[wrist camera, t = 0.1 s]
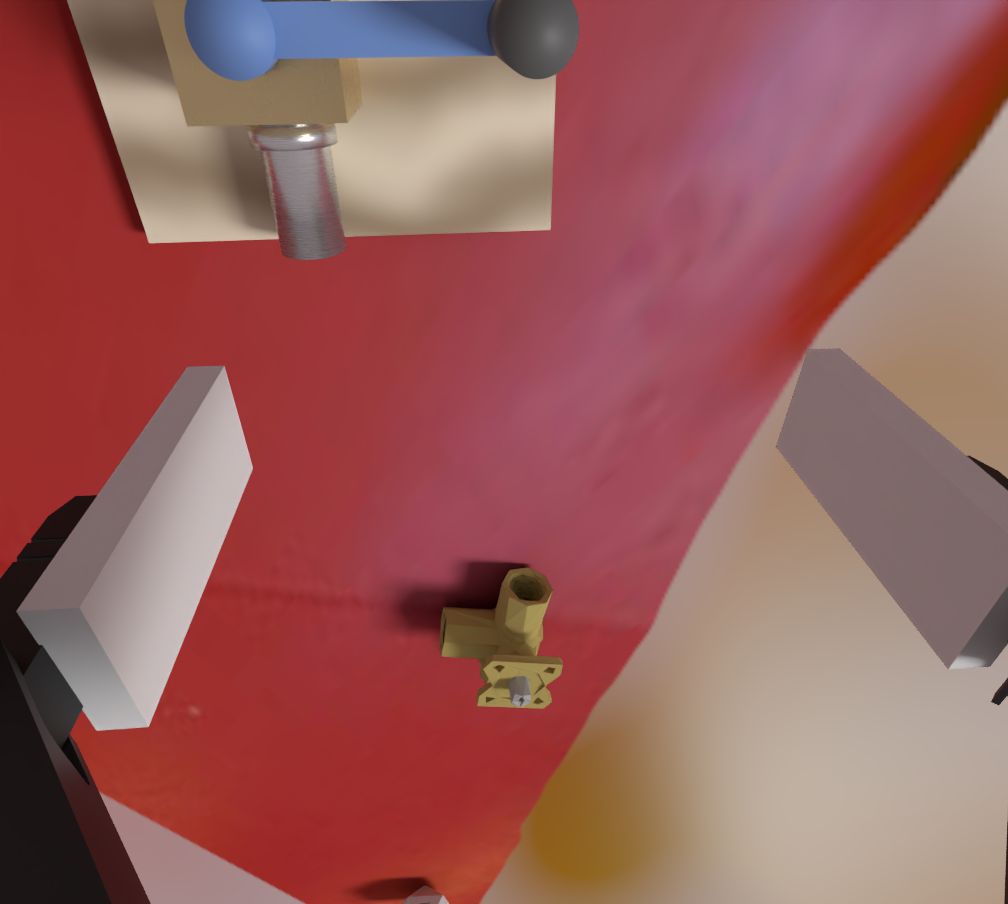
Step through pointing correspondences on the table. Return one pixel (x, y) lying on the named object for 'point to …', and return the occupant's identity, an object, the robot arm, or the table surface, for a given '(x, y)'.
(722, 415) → the table surface
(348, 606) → the table surface
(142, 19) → the board
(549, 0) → the lever
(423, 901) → the die
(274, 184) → the valve body
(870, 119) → the table surface
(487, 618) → the ball valve
